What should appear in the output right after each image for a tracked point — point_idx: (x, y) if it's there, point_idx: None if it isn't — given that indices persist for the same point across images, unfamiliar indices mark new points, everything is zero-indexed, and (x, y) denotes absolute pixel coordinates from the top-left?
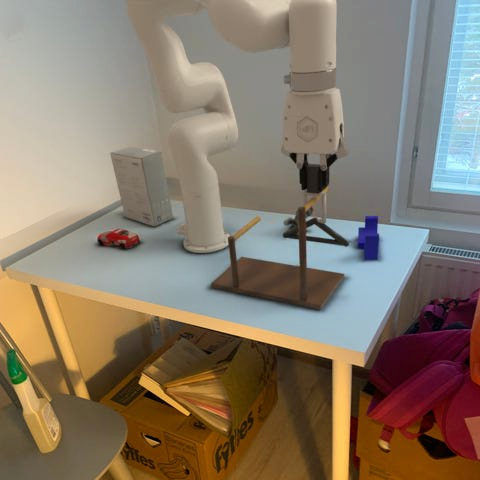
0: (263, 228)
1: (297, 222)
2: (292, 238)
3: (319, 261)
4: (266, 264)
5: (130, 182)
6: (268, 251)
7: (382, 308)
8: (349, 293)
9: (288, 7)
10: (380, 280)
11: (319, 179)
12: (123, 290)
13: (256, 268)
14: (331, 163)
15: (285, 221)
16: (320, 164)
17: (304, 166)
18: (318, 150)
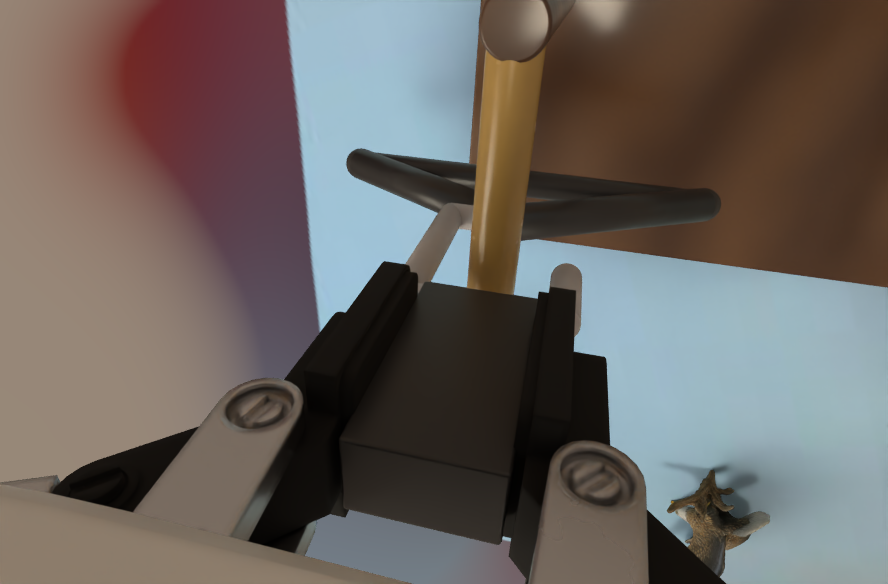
0: (853, 523)
1: (711, 521)
2: (654, 185)
3: (581, 319)
4: (792, 245)
5: None
6: (802, 368)
7: (298, 59)
8: (424, 127)
9: None
10: (360, 232)
11: (360, 317)
12: None
13: (837, 204)
14: (159, 442)
15: (761, 521)
16: (283, 437)
17: (533, 476)
18: (54, 560)
